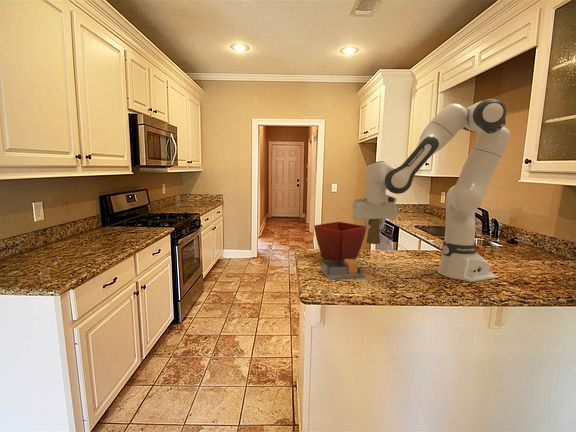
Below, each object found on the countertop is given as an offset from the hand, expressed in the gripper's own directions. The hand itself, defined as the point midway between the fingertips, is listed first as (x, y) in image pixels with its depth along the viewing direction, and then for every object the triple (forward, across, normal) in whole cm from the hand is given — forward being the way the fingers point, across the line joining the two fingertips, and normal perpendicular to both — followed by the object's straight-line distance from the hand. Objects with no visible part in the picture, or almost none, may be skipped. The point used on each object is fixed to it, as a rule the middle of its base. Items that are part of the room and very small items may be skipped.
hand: (374, 228), depth 135 cm
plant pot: (+18, -10, +17) cm, 27 cm away
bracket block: (+17, -13, -6) cm, 22 cm away
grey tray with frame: (+18, -17, -6) cm, 26 cm away
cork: (+7, 0, 0) cm, 7 cm away
